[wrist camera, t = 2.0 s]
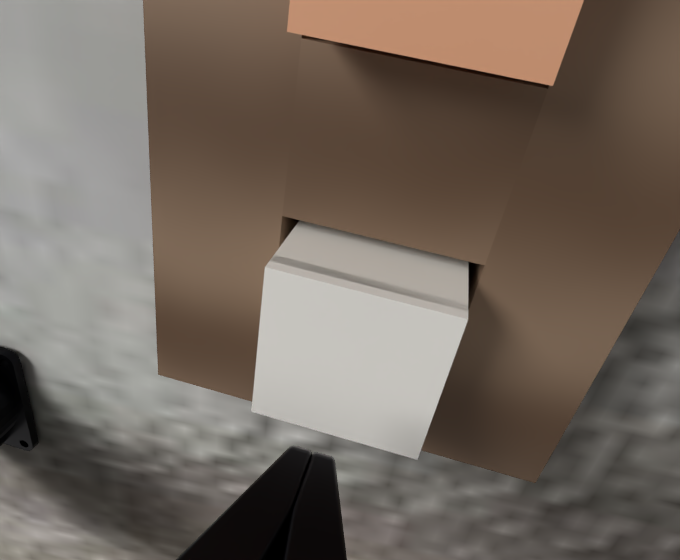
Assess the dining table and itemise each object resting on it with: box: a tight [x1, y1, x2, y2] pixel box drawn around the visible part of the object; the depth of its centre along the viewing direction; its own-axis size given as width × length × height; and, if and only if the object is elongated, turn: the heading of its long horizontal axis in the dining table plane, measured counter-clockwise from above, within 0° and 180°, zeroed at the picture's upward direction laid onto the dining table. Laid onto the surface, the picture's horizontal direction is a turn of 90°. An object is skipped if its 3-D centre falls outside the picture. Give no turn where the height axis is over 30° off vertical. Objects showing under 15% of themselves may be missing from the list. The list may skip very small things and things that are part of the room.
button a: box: [251, 220, 469, 460], centre depth 13 cm, size 4×4×4 cm
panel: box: [143, 0, 680, 483], centre depth 13 cm, size 17×12×4 cm
